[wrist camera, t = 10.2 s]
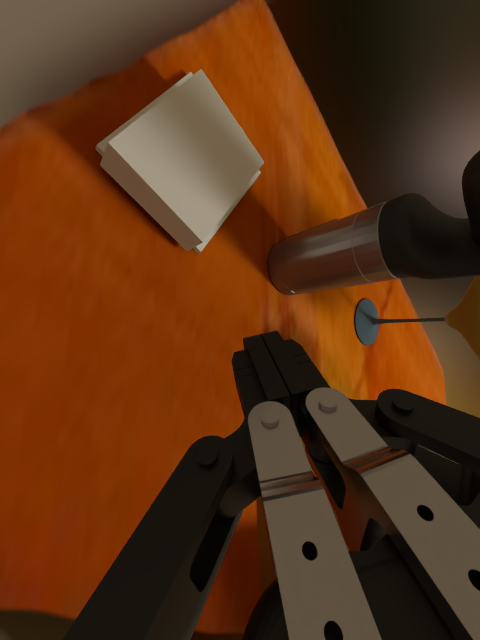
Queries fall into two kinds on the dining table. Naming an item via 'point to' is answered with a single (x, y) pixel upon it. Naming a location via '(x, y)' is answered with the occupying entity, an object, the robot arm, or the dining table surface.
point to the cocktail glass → (468, 318)
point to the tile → (184, 161)
